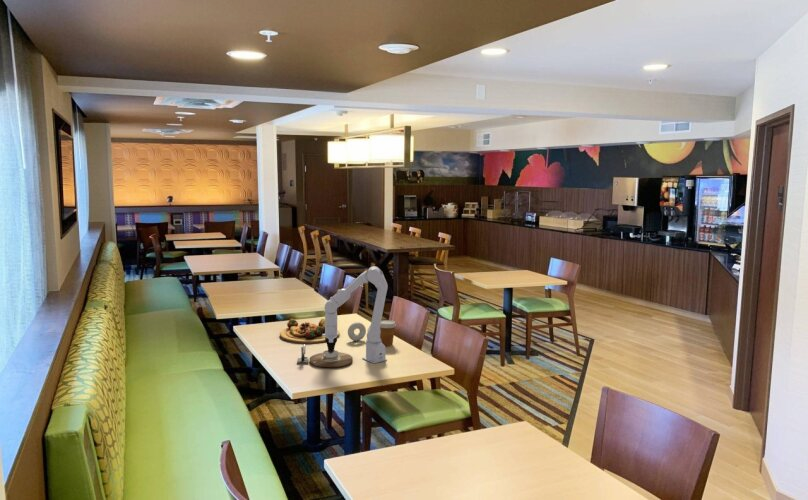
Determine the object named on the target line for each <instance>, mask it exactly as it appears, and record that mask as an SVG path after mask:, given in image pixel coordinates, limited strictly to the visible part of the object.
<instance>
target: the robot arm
mask: <svg viewBox="0 0 808 500" xmlns="http://www.w3.org/2000/svg"><path fill="white" fill-rule="evenodd" d="M369 282H370V283H371V284H373V285H374V286H375V288H376V289H377V291H376V295H375V296H376V297H375V299H374V300H375V301H374V307H373V312H372V317H371V322H370V325H369V327H368V328H367V332H366V339H365V356H363V357H361V359H362V360H365V361H366V362H370V363H372V364H378V363H382V362H385V361H387V360H388V359H387V357H386V355H387V354H386V352H387V351H386V350H387V348H386V346H385V345H384V344H382V342H381V339H380V333H381V330H380V324H381V320H382V318H383V312H384V307H385V302H386V296H387V292H388V283H387V280H386V278H385V275H384V273H383V271H382V270H381V269H380V267H378V266H375V265H373V266H370V267H369V268H368V269H366V270H365V271H363V272H362V273H360V275H358V276H357V278H355V279H354V280H353V281H352V282H351V283H350V284H349V285H348V286H347V287H346V288H341V289H338V290H336V293H335V294H334V295H333V296H330V298H329V299H328V300H327V301H326V302H325V305H324V311H325V312H324V313H325V315H324V319H325V334H323V336H325V337H326V338H325V341H326V342H325V343H326V346H327V350H335V346H336V344H337V342H338V338H337V336H338V334H337V330H338V308H339V307H341V306H342V305H343V304H344V303H345V302H347V301H348V300H349V299H350V298H351V293H353V292H354V291H356V289H357V288H359V287H360V286H361V285H362V284H368V283H369Z"/></svg>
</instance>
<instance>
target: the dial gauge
mask: <svg viewBox="0 0 808 500" xmlns="http://www.w3.org/2000/svg"><path fill="white" fill-rule="evenodd" d="M306 345H307V344H302V346H301V348H300V349H301V351H300V352H301V354H300V355H301V357H300V358H299V357H297V361H296V363H297V364H296V365H308V364H309V363H310V361H309V359H310V357H308V356H305V355H306V347H307V346H306Z"/></svg>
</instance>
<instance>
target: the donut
mask: <svg viewBox="0 0 808 500" xmlns="http://www.w3.org/2000/svg"><path fill="white" fill-rule="evenodd" d="M356 330H359V332H358V333H357V334H356V333H355V331H356ZM366 335H367V330H366V326H365V325H364V324H363V323H361V322H360V321H359V322H358V321H357V322H356V321H355V322H353V323H351V324H350V325H349V326H348V329H347V336H348V338H349V339H350V340H352V341H353V342H359V341H361V340H363V339H364V337H366Z"/></svg>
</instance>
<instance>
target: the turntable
mask: <svg viewBox="0 0 808 500" xmlns="http://www.w3.org/2000/svg"><path fill="white" fill-rule="evenodd" d="M353 361H354V360H353V356H352V355H351V354H349V353H345V352H340V351H338V359H337V360H334V361H326V360H324V359H323V352H319V353H316V354H312V355H311V356H310V357H309V364H310V365H312V366H315V367H319V368H341V367H345V366H348V365H350V364H351V363H353Z"/></svg>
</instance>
